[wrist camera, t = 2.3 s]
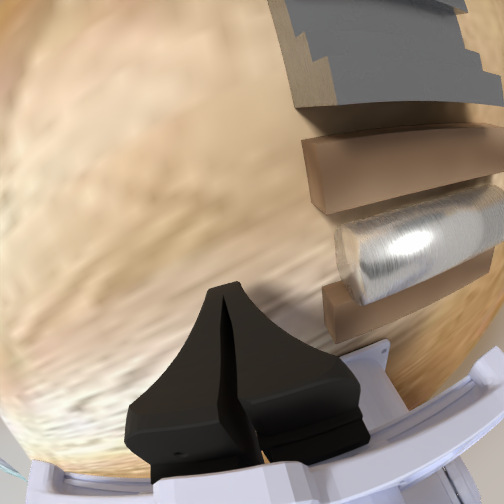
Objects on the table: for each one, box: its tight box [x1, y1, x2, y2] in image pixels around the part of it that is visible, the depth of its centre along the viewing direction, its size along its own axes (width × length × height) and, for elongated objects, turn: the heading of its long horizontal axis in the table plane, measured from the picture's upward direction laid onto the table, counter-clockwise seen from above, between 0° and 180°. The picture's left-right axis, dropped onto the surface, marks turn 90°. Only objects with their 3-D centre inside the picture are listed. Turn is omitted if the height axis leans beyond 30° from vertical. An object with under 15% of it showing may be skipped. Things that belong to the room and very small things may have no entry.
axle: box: [334, 184, 504, 306], centre depth 13 cm, size 12×4×4 cm, turn 102°
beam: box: [301, 123, 504, 344], centre depth 14 cm, size 11×14×2 cm
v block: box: [267, 0, 504, 108], centre depth 7 cm, size 8×10×4 cm
